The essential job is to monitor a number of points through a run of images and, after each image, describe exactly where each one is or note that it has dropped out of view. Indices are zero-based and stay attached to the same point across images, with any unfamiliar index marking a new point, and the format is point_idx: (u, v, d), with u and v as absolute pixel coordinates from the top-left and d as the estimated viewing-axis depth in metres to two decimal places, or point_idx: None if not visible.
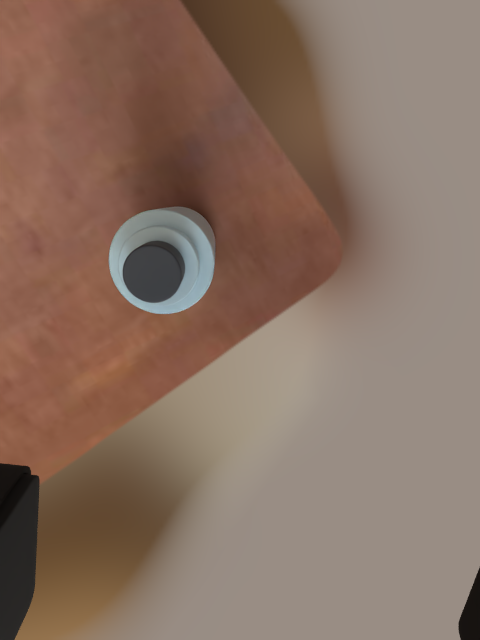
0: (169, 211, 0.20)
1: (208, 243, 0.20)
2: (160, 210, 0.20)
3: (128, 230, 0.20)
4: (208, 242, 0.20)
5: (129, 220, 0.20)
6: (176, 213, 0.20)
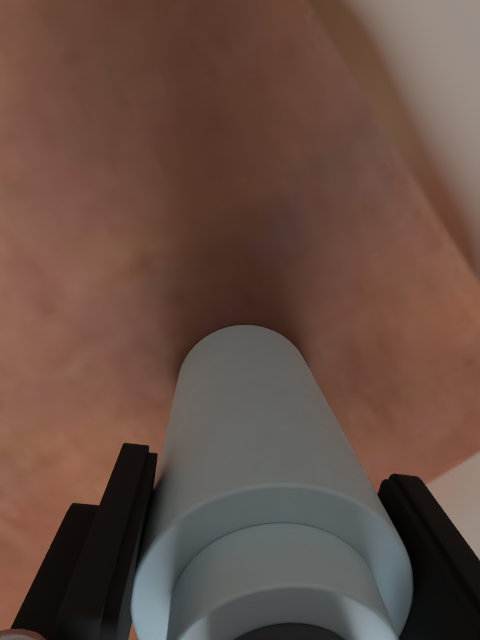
0: (305, 486, 0.07)
1: (405, 558, 0.07)
2: (281, 486, 0.07)
3: (189, 537, 0.07)
4: (405, 555, 0.07)
5: (191, 512, 0.07)
6: (325, 491, 0.07)
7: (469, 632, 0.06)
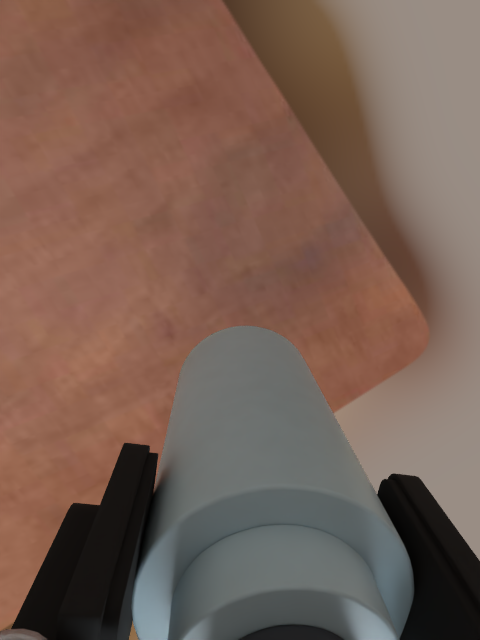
0: (306, 487, 0.07)
1: (406, 560, 0.07)
2: (282, 487, 0.07)
3: (189, 539, 0.07)
4: (406, 556, 0.07)
5: (192, 513, 0.07)
6: (326, 493, 0.07)
7: (468, 631, 0.06)
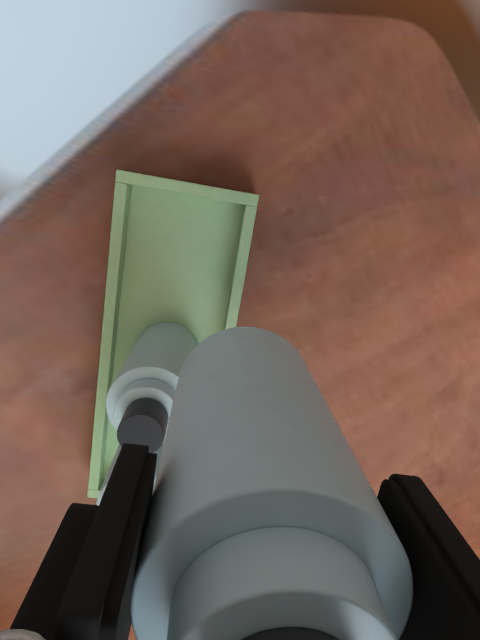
0: (305, 489, 0.07)
1: (405, 561, 0.07)
2: (281, 489, 0.07)
3: (188, 541, 0.07)
4: (405, 558, 0.07)
5: (191, 515, 0.07)
6: (325, 495, 0.07)
7: (470, 632, 0.06)
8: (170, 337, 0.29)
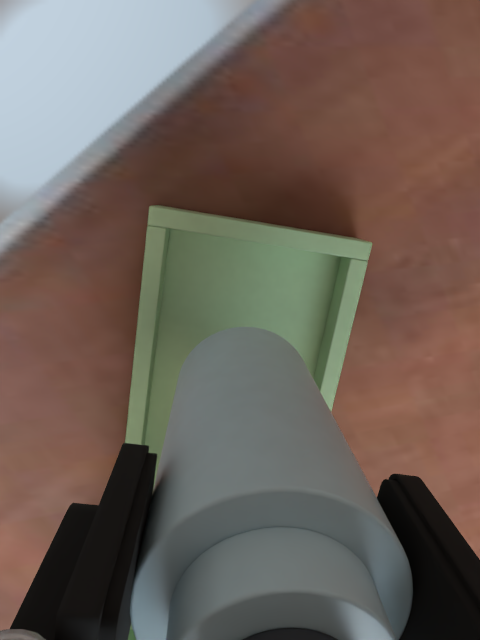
0: (305, 490, 0.07)
1: (405, 562, 0.07)
2: (280, 490, 0.07)
3: (187, 542, 0.07)
4: (404, 559, 0.07)
5: (190, 516, 0.07)
6: (325, 495, 0.07)
7: (469, 632, 0.06)
8: None
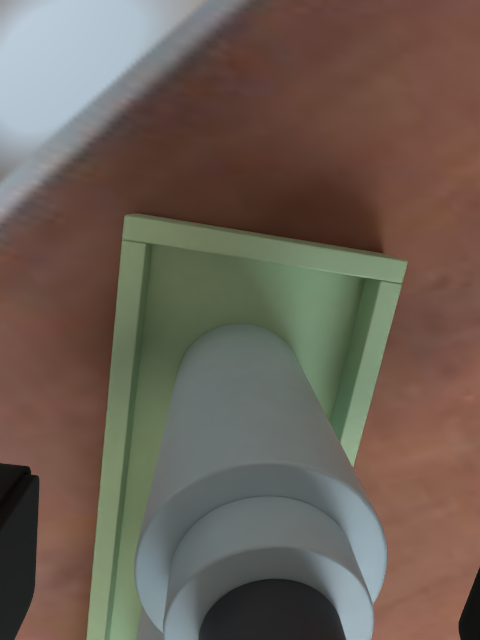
0: (289, 463, 0.08)
1: (379, 528, 0.08)
2: (267, 463, 0.08)
3: (186, 509, 0.08)
4: (379, 526, 0.08)
5: (188, 486, 0.08)
6: (307, 468, 0.08)
7: None
8: None
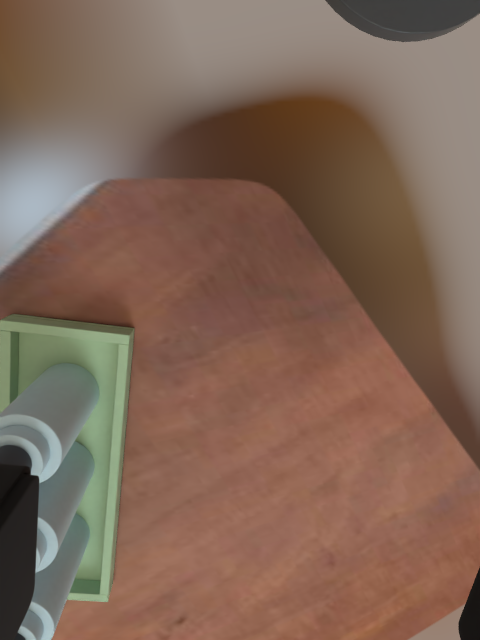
0: (22, 415, 0.26)
1: (55, 435, 0.26)
2: (15, 415, 0.26)
3: None
4: (55, 435, 0.26)
5: None
6: (28, 416, 0.26)
7: None
8: None
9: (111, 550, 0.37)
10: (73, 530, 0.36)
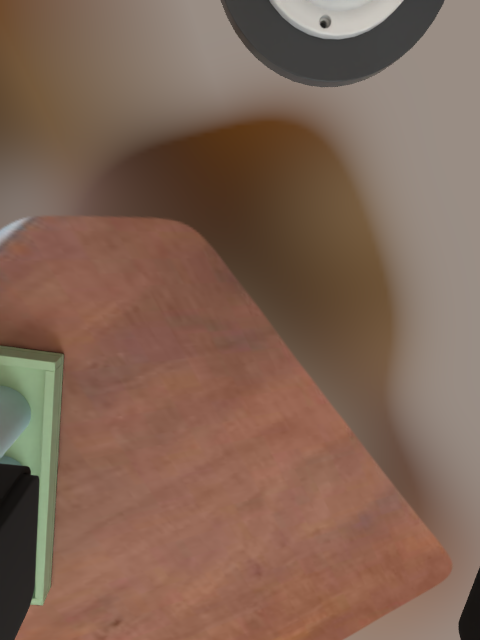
0: None
1: None
2: None
3: None
4: None
5: None
6: None
7: None
8: None
9: (44, 558, 0.40)
10: None
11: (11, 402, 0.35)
